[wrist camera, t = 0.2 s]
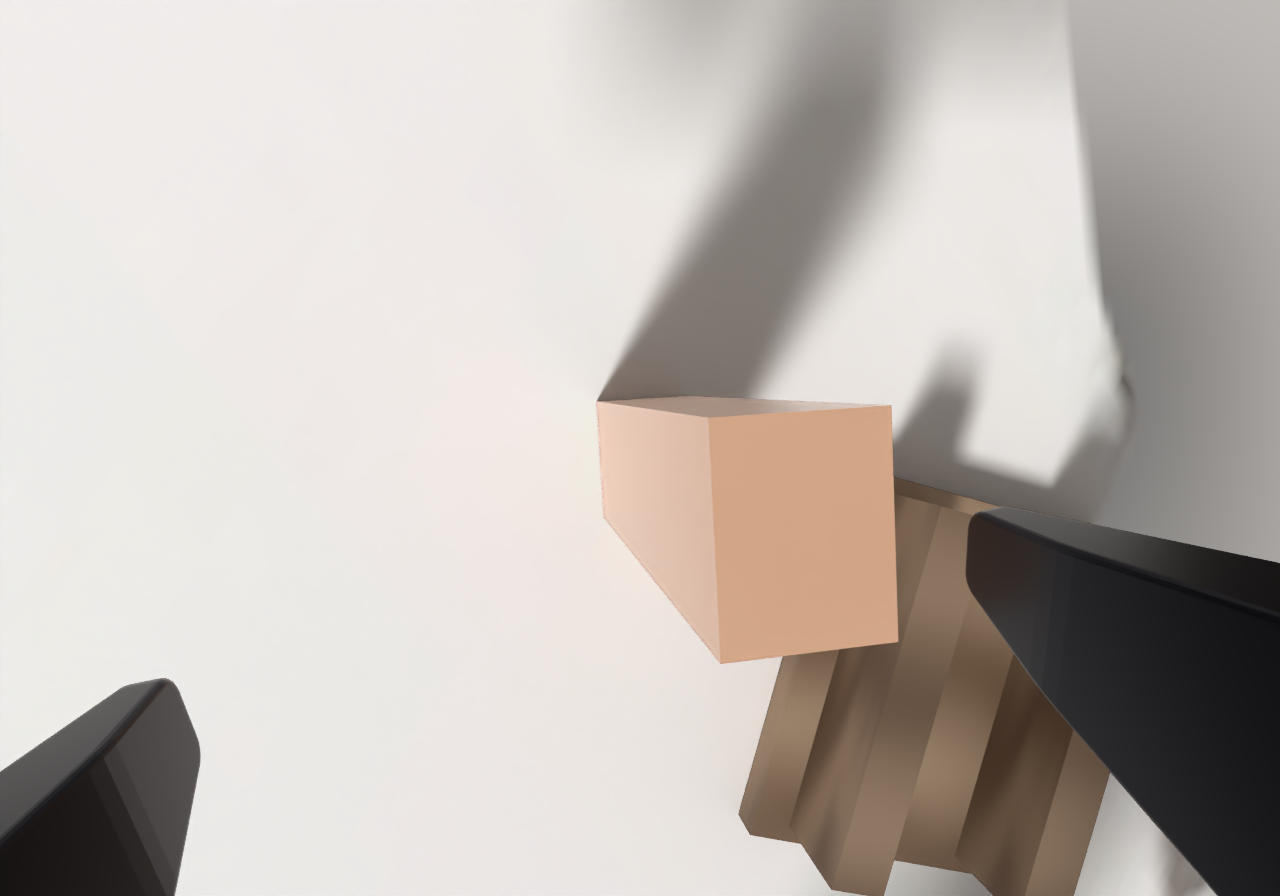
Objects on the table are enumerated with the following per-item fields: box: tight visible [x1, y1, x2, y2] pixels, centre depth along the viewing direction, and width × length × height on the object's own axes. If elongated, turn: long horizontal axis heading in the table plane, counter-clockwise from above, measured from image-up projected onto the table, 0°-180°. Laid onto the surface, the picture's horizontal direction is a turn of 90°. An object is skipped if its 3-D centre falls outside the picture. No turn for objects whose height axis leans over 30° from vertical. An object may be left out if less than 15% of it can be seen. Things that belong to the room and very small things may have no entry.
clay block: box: [597, 396, 898, 664], centre depth 18 cm, size 4×3×13 cm
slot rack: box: [739, 477, 1110, 896], centre depth 24 cm, size 12×10×4 cm
